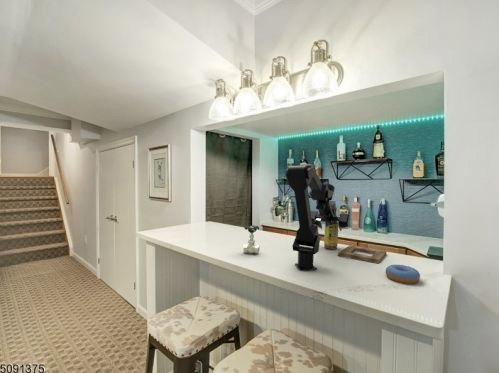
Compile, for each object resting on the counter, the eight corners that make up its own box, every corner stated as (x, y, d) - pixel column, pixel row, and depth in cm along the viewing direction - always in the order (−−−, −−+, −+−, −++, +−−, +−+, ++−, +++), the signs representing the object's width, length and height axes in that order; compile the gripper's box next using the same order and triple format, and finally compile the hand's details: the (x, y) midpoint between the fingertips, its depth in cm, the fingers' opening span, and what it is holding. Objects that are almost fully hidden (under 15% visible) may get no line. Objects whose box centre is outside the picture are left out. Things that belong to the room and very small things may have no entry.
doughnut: (425, 286, 80) (424, 271, 80) (389, 283, 82) (388, 269, 83) (414, 277, 89) (414, 264, 90) (383, 275, 92) (382, 262, 92)
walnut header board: (386, 254, 114) (386, 251, 114) (378, 263, 101) (378, 259, 101) (349, 248, 124) (349, 245, 124) (338, 255, 111) (338, 252, 111)
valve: (257, 256, 110) (257, 228, 109) (242, 255, 111) (242, 227, 111) (260, 252, 116) (260, 225, 116) (245, 251, 117) (246, 225, 117)
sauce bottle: (329, 250, 120) (329, 208, 120) (321, 246, 126) (321, 206, 125) (340, 249, 122) (341, 207, 122) (332, 245, 128) (333, 206, 127)
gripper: (349, 196, 114) (354, 217, 123) (309, 194, 124) (316, 214, 134) (345, 215, 108) (350, 237, 117) (303, 212, 118) (310, 232, 127)
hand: (331, 229), depth 124 cm, fingers open, 9 cm apart
